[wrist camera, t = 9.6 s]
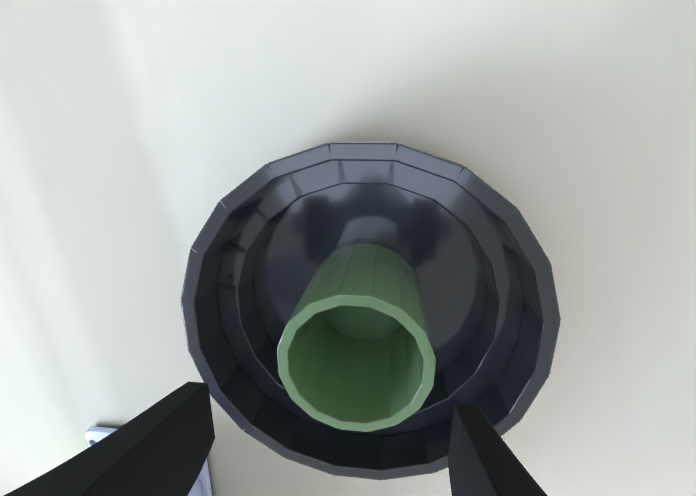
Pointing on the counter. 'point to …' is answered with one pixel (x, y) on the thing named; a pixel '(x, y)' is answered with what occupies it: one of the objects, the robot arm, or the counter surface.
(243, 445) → the counter surface
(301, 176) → the dark bowl
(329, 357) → the green cup
